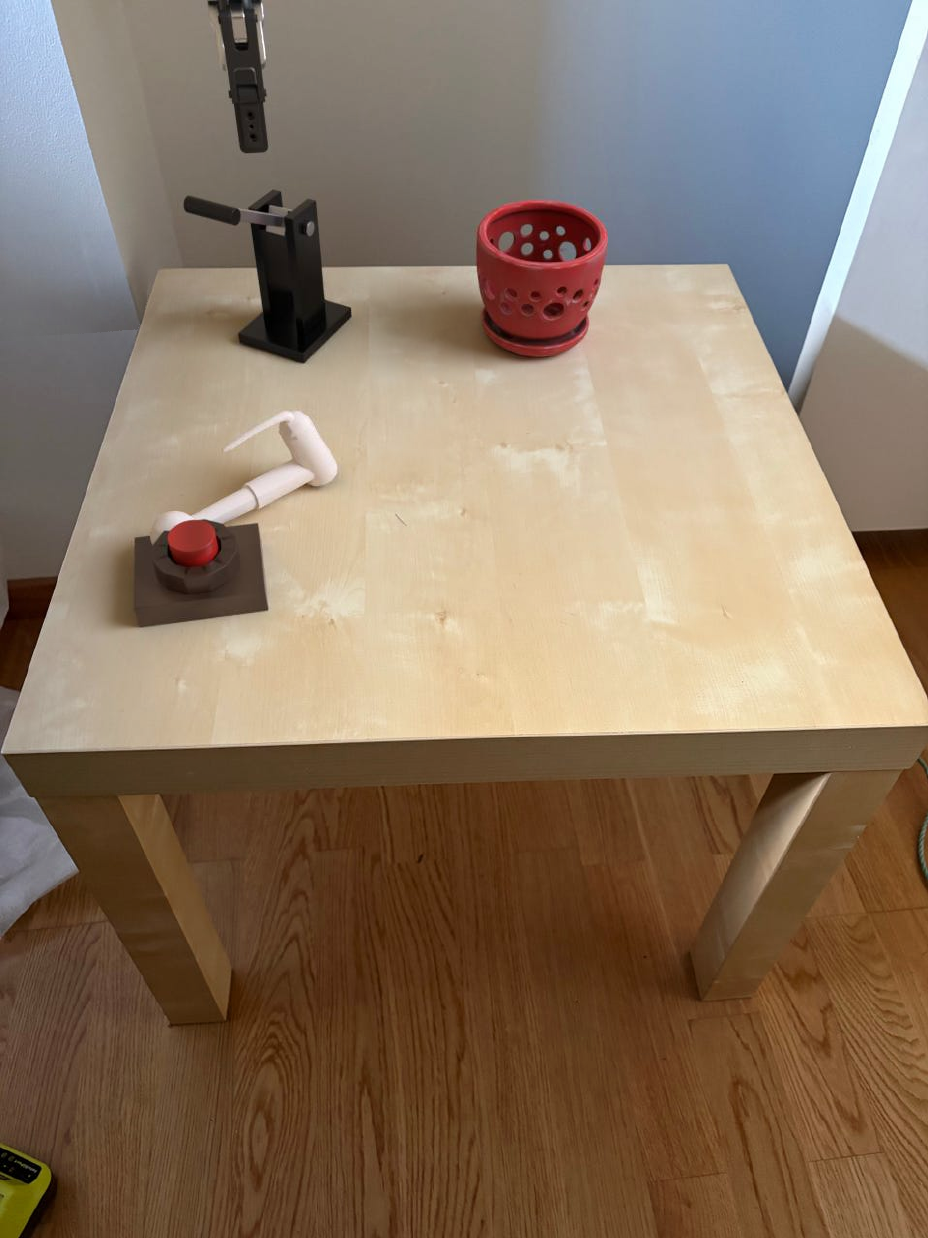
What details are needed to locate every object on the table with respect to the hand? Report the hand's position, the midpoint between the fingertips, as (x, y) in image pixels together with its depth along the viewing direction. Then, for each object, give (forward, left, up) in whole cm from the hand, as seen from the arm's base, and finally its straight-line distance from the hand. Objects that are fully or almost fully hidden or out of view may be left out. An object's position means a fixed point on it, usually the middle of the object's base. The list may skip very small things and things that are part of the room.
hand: (250, 128), depth 78 cm
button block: (-9, -26, -25) cm, 37 cm away
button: (-9, -26, -21) cm, 35 cm away
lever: (-1, +5, -11) cm, 12 cm away
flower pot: (+27, +5, -25) cm, 37 cm away
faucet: (-4, -19, -25) cm, 32 cm away
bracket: (+2, +10, -25) cm, 27 cm away
